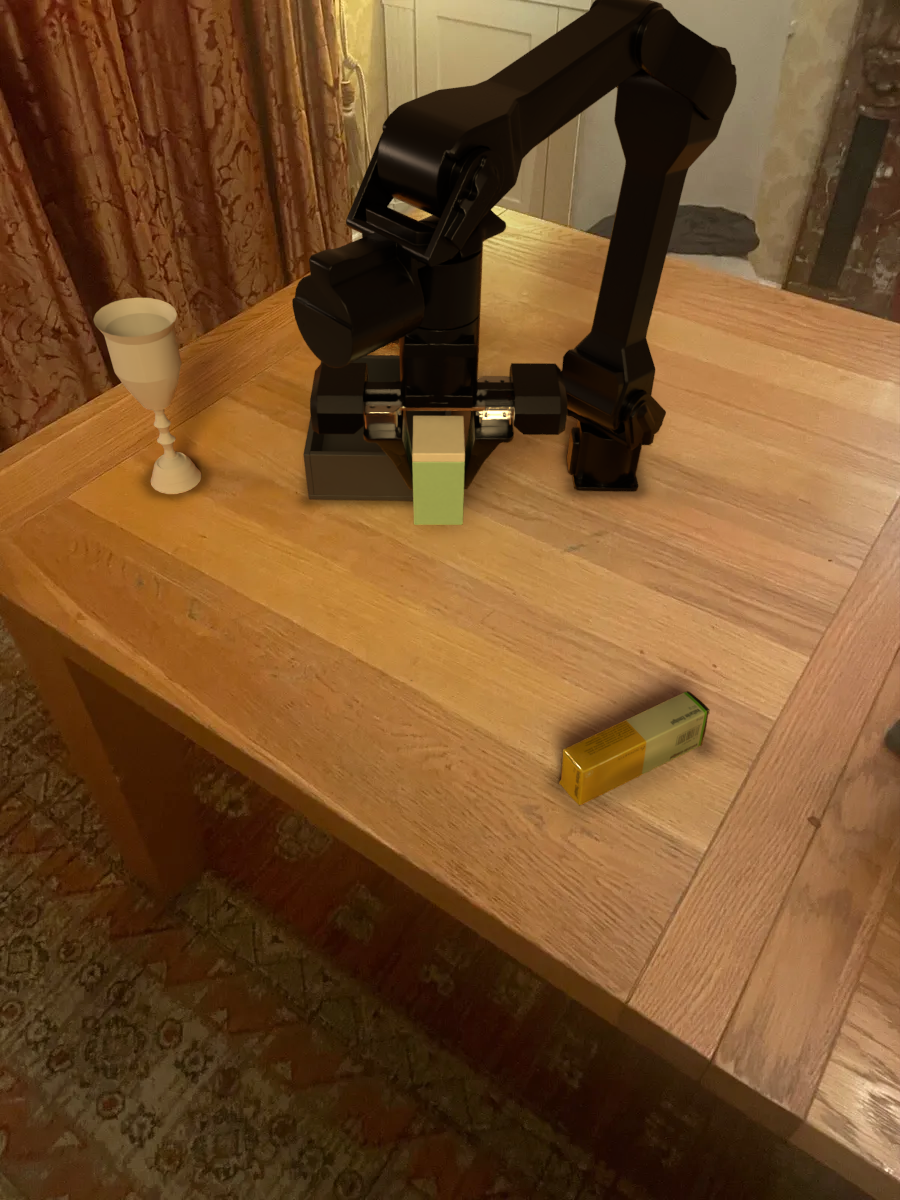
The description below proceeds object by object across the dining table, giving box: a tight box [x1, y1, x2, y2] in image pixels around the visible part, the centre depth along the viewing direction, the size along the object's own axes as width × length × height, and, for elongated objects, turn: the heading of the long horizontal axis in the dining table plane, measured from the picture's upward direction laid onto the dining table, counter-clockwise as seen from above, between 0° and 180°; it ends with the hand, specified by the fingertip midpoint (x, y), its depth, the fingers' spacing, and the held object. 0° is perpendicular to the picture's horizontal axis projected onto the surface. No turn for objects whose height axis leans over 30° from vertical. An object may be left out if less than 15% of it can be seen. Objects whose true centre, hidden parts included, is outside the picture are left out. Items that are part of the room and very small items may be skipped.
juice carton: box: [412, 415, 466, 526], centre depth 73 cm, size 4×5×7 cm
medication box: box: [558, 690, 711, 806], centre depth 68 cm, size 12×3×4 cm, turn 119°
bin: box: [302, 354, 452, 502], centre depth 95 cm, size 14×18×6 cm
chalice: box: [93, 297, 202, 495], centre depth 86 cm, size 7×7×18 cm
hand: (438, 486), depth 74 cm, fingers closed on juice carton, 4 cm apart
